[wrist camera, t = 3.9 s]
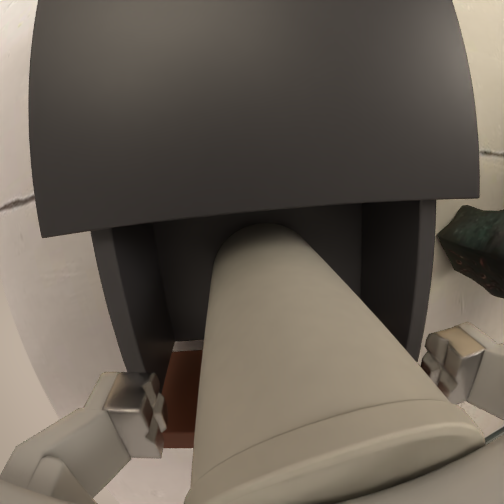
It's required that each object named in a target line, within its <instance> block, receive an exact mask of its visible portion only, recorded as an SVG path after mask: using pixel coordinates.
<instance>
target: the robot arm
mask: <svg viewBox="0 0 504 504" xmlns="http://www.w3.org/2000/svg"><path fill="white" fill-rule="evenodd" d="M425 347H426V349H427V353H426V354H425V355H424V357H423V358H422V362H421V368H422V369H423V370H424V372H425V373H426V374H427V375H428V376H429V377H430V379H431V380H432V381H433V382H434V383H435V385H436V386H437V387H438V388H439V389H440V391H441V392H442V393H443V394H444V395H445V397H446V398H447V399H448V400H449V401H450V403H453V404H456V405H457V404H459V403H462V402H464V401H467V402H468V403H470V404H472V405H474V406H476V407H478V408H480V409H482V410H484V411H486V412H488V413H490V414H492V415H494V416H496V417H498V418H500V419H502V420H504V344H497V343H496V342H495V341H494V340H492V339H491V338H490V337H488V336H487V335H486V334H485V333H483V332H482V331H481V330H479V329H478V328H477V327H476V326H474V325H473V324H472V323H469V322H465V323H462V324H459V325H456V326H454V327H452V328H448V329H445V330H441V331H438V332H434V333H431V334H429V335H428V337H427V339H426V343H425ZM159 388H160V382H159V379H158V376H157V375H156V374H155V373H139V372H121V373H120V372H104V373H102V374H101V375H100V377H99V379H98V381H97V383H96V385H95V387H94V389H93V390H92V392H91V394H90V396H89V398H88V400H87V402H86V404H85V406H84V408H78V409H76V410H75V411H73V412H72V413H70V414H68V415H67V416H65V417H64V418H62V419H60V420H59V421H57V422H56V423H54V424H52V425H51V426H49V427H47V428H46V429H44V430H43V431H41V432H39V433H38V434H36V435H34V436H33V437H31V438H30V439H28V440H26V441H24V442H23V443H21V444H19V445H18V446H16V448H15V450H14V451H13V453H12V455H11V457H10V458H9V460H8V462H7V464H6V466H5V467H4V469H3V471H2V473H1V475H0V504H97V503H96V502H95V500H94V499H93V498H94V496H96V495H97V494H98V493H99V492H100V491H101V490H102V489H103V488H104V487H105V486H106V485H107V484H108V483H109V482H110V481H111V480H112V479H113V478H114V477H115V476H116V475H117V473H118V472H119V471H120V470H121V469H122V468H123V467H124V466H125V465H126V464H127V463H128V462H129V461H130V460H131V457H132V458H161V457H162V452H163V446H164V441H165V440H164V438H163V435H162V432H163V431H165V430H166V429H167V424H168V409H167V404H166V401H165V397H164V396H163V395H161V394H160V393H159ZM335 504H504V435H502V436H500V437H499V438H497V439H495V440H494V441H492V442H491V443H488V444H487V445H485V446H483V447H481V448H479V449H478V450H476V451H474V452H472V453H470V454H468V455H466V456H464V457H462V458H460V459H458V460H456V461H454V462H452V463H450V464H448V465H446V466H444V467H442V468H439V469H437V470H435V471H432V472H430V473H428V474H425V475H423V476H420V477H418V478H415V479H413V480H410V481H408V482H405V483H402V484H399V485H397V486H394V487H391V488H388V489H385V490H382V491H379V492H376V493H372V494H369V495H366V496H362V497H358V498H355V499H351V500H347V501H343V502H339V503H335Z"/></svg>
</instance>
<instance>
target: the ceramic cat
mask: <svg viewBox="0 0 504 504" xmlns="http://www.w3.org/2000/svg"><path fill="white" fill-rule="evenodd" d="M438 238H439V240H440V242H441V244H442V246H443V248H444V250H445V252H446V254H447V256H448V258H449V260H450V261H451V263H452V266H453V268H454V270H456V271H458V272H460V273H461V274H463V275H465V276H467V277H469V278H471V279H472V280H474V281H475V282H477V283H478V284H480V285H481V286H482V287H484V288H485V289H486V290H487V291H488V292H489V293H490V294H491V295H493V296H496V297H500V298H504V210H500V211H483V210H480V209H477V208H475V207H472V206H468V205H465V206H462V207H461V208H460V210H459V211H458V213H457V215H456V216H455V218H454V219H453V220H452V221H451V222H450V223H449V225H447V226H446V227H445V228H444V229H443V230H442V231H441V232H440V233H439V234H438Z"/></svg>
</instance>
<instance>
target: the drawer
mask: <svg viewBox="0 0 504 504" xmlns="http://www.w3.org/2000/svg"><path fill="white" fill-rule="evenodd" d="M259 223H272V224H278V225H282V226H285V227H287V228H289V229H291V230H293V231H295V232H296V233H297V234H299V235H300V236H301V237H302V238H303V239H304V240H305V241H306V242H307V243H308V244H309V245H310V246H311V247H312V248H313V249H314V251H315V252H316V253H317V254H318V255H319V256H320V257H321V258H322V259H323V260H324V261H325V262H326V263H327V264H328V265H329V266H330V267H331V268H332V269H333V270H334V271H335V273H336V274H337V275H338V276H339V277H340V278H341V279H342V280H343V281H344V282H345V283H346V284H347V285H348V286H349V287H350V289H351V290H352V291H353V292H354V293H355V294H356V295H357V296H358V297H359V298H360V299H361V300H362V302H363V303H364V304H365V305H366V306H367V307H368V308H369V309H370V310H371V311H372V312H373V314H374V315H375V316H376V317H377V318H378V319H379V320H380V321H381V322H382V324H383V325H384V326H385V327H386V328H387V329H388V330H389V331H390V333H391V334H392V335H393V336H394V337H395V338H396V339H397V340H398V342H399V343H400V344H401V345H402V346H403V347H404V348H405V350H406V351H407V352H408V353H409V354H410V355H411V356H412V358H413V359H414V360H415V361H416V362H418V357H419V353H420V348H421V343H422V338H423V332H424V327H425V321H426V315H427V308H428V301H429V294H430V286H431V277H432V268H433V256H434V243H435V224H436V200H412V201H391V202H373V203H356V204H341V205H326V206H313V207H300V208H288V209H276V210H265V211H254V212H243V213H233V214H223V215H214V216H204V217H195V218H186V219H178V220H169V221H161V222H153V223H145V224H137V225H129V226H122V227H114V228H107V229H100V230H93V231H91V236H92V242H93V247H94V252H95V257H96V261H97V266H98V271H99V275H100V279H101V284H102V288H103V292H104V296H105V300H106V304H107V307H108V311H109V315H110V318H111V322H112V325H113V329H114V332H115V335H116V339H117V342H118V345H119V348H120V352H121V355H122V358H123V361H124V364H125V367H126V369H127V372H139V373H155V374H156V375H157V376H158V379H159V382H160V388H159V393H160V394H161V395H163V396H164V397H165V401H166V404H167V409H168V424H167V429H166V430H165V431H163V432H162V435H163V438H164V440H165V441H164V446H163V448H194V436H195V424H196V413H197V403H198V392H199V382H200V372H201V363H202V354H203V350H193V351H178V352H172V350H173V346H174V342H175V341H189V340H203V339H204V336H205V327H206V319H207V311H208V302H209V294H210V287H211V279H212V271H213V265H214V261H215V258H216V255H217V253H218V251H219V249H220V248H221V246H222V245H223V243H224V242H225V241H226V240H227V239H228V238H229V237H230V236H231V235H233V234H234V233H235V232H237V231H239V230H240V229H242V228H245V227H247V226H250V225H254V224H259Z"/></svg>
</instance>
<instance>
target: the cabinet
mask: <svg viewBox="0 0 504 504" xmlns="http://www.w3.org/2000/svg"><path fill="white" fill-rule="evenodd" d="M29 141H30V157H31V168H32V178H33V187H34V194H35V201H36V208H37V214H38V220H39V226H40V231H41V236H42V238H47V237H54V236H60V235H66V234H73V233H80V232H86V231H93V230H100V229H107V228H114V227H122V226H129V225H137V224H145V223H153V222H161V221H169V220H178V219H186V218H195V217H204V216H214V215H223V214H233V213H243V212H254V211H265V210H276V209H288V208H300V207H313V206H326V205H341V204H356V203H373V202H391V201H412V200H438V199H473V198H479V193H480V170H479V144H478V130H477V119H476V110H475V102H474V94H473V87H472V81H471V75H470V70H469V65H468V60H467V55H466V50H465V46H464V42H463V38H462V34H461V30H460V26H459V22H458V19H457V15H456V12H455V9H454V5H453V2H452V0H38V5H37V11H36V17H35V23H34V30H33V38H32V47H31V58H30V73H29Z"/></svg>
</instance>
